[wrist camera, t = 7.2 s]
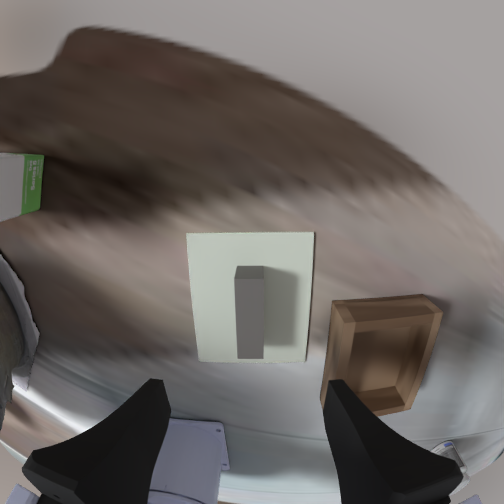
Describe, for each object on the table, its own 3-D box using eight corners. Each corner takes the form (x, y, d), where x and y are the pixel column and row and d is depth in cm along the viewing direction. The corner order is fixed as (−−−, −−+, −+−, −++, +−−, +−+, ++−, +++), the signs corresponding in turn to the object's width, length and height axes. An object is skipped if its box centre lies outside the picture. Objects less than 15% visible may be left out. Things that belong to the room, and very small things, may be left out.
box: (397, 386, 23) (410, 409, 20) (319, 397, 23) (326, 424, 20) (422, 294, 20) (443, 312, 17) (332, 300, 21) (344, 323, 17)
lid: (303, 356, 23) (309, 381, 20) (200, 356, 23) (193, 380, 20) (311, 230, 20) (321, 241, 17) (188, 231, 20) (176, 242, 17)
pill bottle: (419, 458, 28) (437, 499, 20) (444, 438, 27) (466, 478, 19) (433, 460, 28) (451, 497, 20) (456, 441, 27) (477, 478, 19)
